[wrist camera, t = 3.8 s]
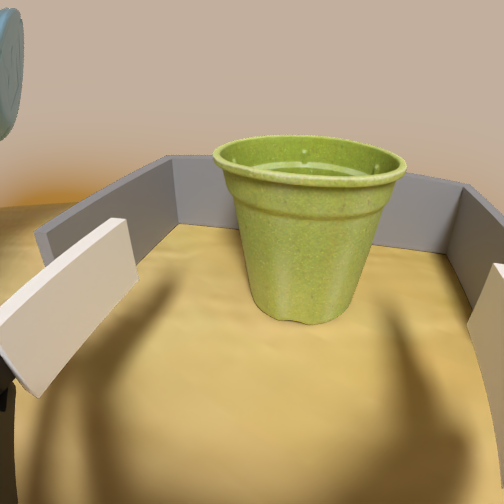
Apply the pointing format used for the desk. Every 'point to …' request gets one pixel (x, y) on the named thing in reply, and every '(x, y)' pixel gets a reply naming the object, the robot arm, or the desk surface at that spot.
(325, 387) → the desk surface
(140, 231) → the open-front box
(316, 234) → the plant pot
